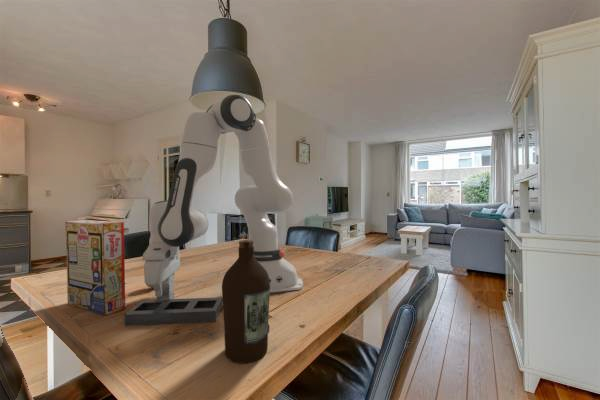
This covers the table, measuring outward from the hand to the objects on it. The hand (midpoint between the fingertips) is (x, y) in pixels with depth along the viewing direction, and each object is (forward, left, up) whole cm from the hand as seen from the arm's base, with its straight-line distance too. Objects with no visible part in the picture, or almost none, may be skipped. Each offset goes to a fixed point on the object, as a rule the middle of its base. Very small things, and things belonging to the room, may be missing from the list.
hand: (164, 290), depth 89 cm
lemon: (+9, -13, -4) cm, 16 cm away
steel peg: (0, -1, -4) cm, 4 cm away
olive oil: (-30, +31, -4) cm, 44 cm away
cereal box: (+20, +2, -4) cm, 21 cm away
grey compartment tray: (-8, +11, -3) cm, 14 cm away
